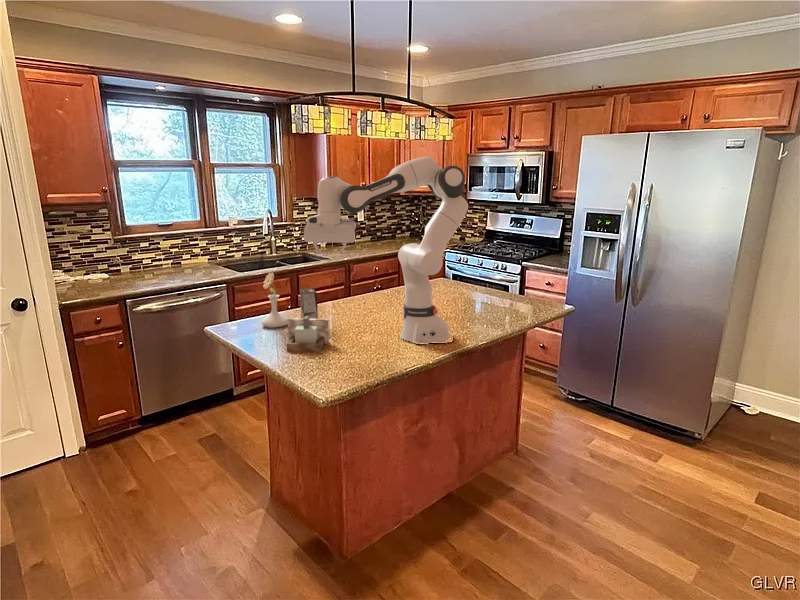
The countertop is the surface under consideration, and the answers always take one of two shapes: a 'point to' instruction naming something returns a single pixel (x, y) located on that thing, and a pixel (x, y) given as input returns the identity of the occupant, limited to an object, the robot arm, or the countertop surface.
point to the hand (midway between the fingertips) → (330, 253)
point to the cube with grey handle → (306, 332)
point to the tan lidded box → (308, 347)
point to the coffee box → (309, 303)
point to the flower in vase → (273, 306)
